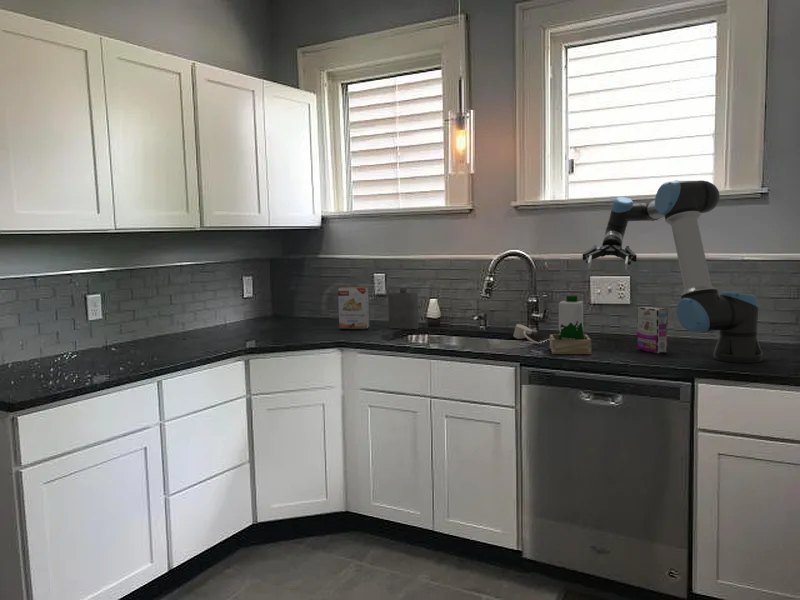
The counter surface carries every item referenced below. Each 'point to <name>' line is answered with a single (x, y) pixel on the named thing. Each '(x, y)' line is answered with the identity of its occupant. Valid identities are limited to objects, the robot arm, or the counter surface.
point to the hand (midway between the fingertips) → (607, 266)
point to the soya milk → (571, 319)
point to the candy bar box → (652, 329)
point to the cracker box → (353, 307)
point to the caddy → (570, 345)
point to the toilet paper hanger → (524, 333)
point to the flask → (403, 309)
